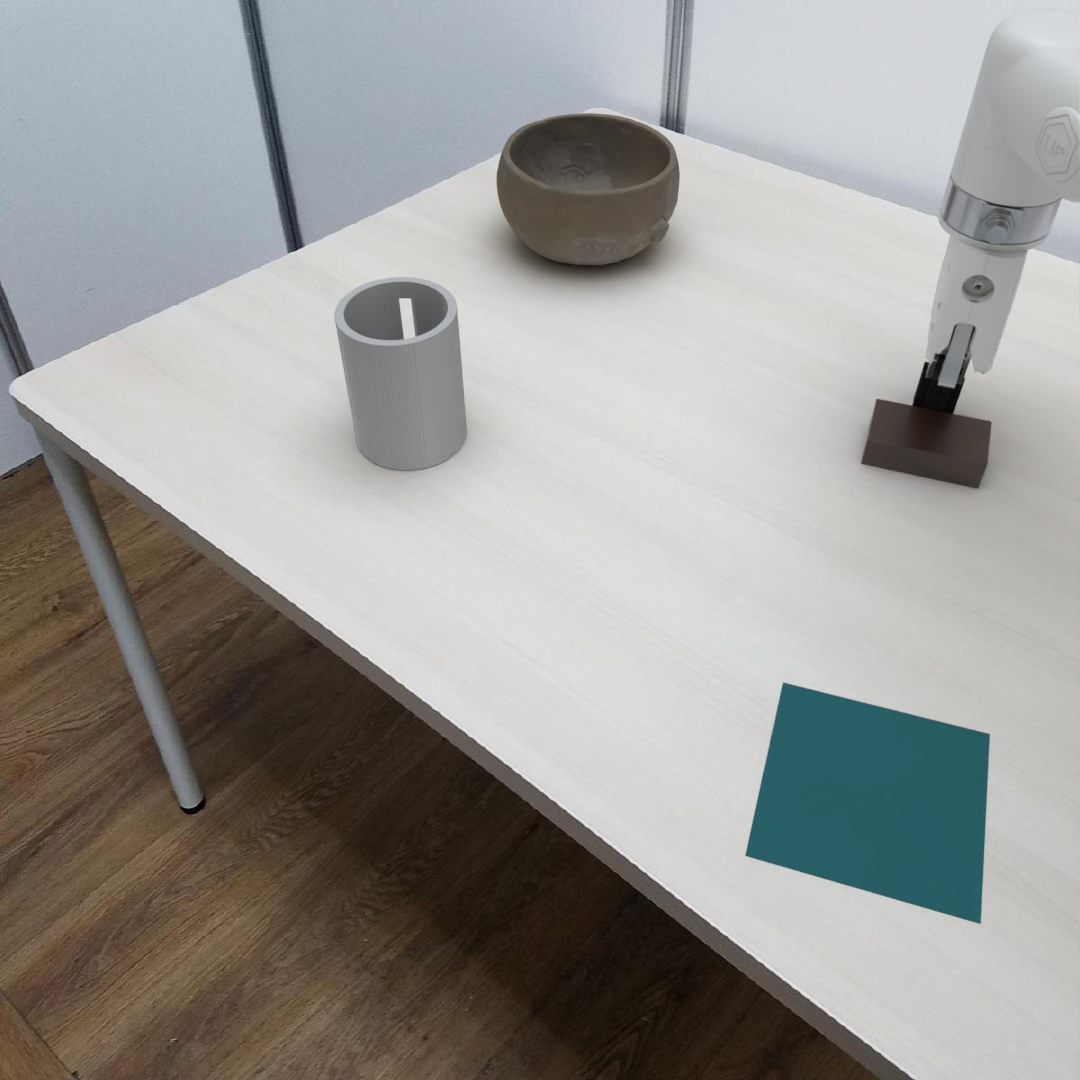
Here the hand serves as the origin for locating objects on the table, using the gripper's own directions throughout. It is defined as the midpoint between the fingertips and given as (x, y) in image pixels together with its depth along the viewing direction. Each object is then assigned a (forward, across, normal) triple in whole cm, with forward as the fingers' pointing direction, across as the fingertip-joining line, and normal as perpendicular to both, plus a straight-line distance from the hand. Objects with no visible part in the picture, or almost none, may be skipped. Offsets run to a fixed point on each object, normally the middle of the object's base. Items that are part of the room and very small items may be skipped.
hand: (931, 409), depth 88 cm
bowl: (+2, +18, +36) cm, 40 cm away
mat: (+1, -37, 0) cm, 37 cm away
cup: (+2, -16, +40) cm, 43 cm away
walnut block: (+1, -4, 0) cm, 5 cm away
